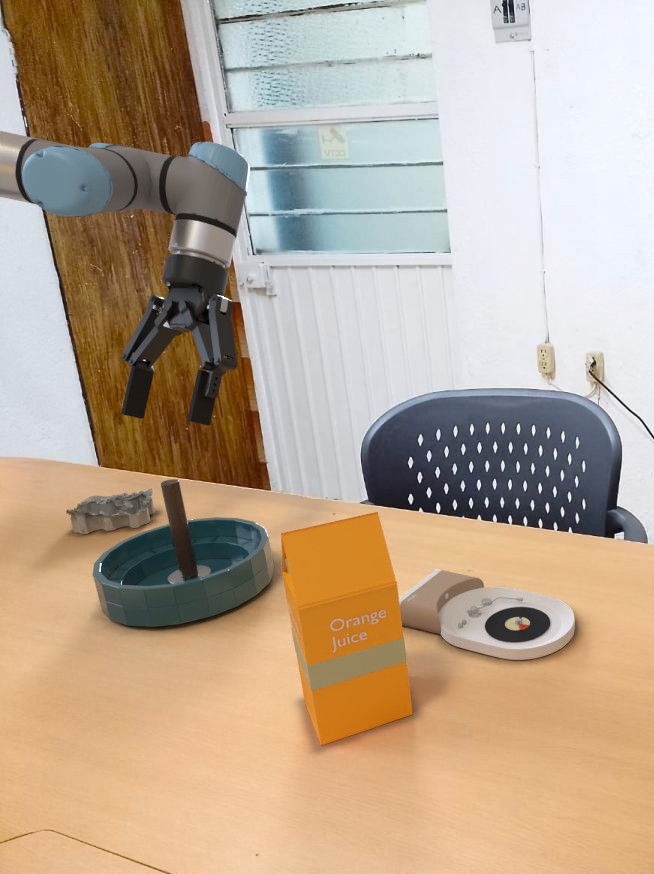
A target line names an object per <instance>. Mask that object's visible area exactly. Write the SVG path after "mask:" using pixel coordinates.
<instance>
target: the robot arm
mask: <svg viewBox="0 0 654 874" xmlns="http://www.w3.org/2000/svg"><path fill="white" fill-rule="evenodd" d="M250 171H251V168H250V164H249V162H248V160H247V159H246V157H244V155H242V154H241V153H239V152H238V151H236V150H235V149H233V148H231V147H229V146H226V145H223V144H221V143H218V142H214V141H213V142H212V141H204V142H203V141H198V142H194V144H192V145H191V148H190V150H189V152H188V154H187V156H180V155H170V154H164V153H159V152H154V151H150V150H145V149H140V148H135V147H130V146H127V145H124V144H118V143H117V144H115V143H106V142H105V143H104V142H95V143H92V144H89V147H82V146H76V145H70V144H65V143H61V142H57V141H56V142H55V141H52V140H47V139H41V138H36V137H31V136H27V135H22V134H17V133H12V132H7V131H3V130H0V198H4V199H9V200H14V201H19V202H22V203H23V202H24V203H29V204H33V205H36V206H38V207H39V208H40V209H42V210H44V211H45V212H47V213H49V214H51V215H55V216H59V217H71V218H72V217H73V218H86V217H90V216H93V215H101V214H106V213H114V212H116V213H117V212H124V211H132V210H145V211H151V212H158V213H165V214H170V215H174V216H175V219H174V222H173V226H172V230H171V236H170V239H169V243H168V247H167V251H169V253H170V254H169V255H168V256H166V258H165V263H164V268H163V272H162V275H161V276H162V277H161V282H162V283H163V284H164V285H165V286H166V287H167V289H168V292H167V295H166V297H165V298H164V297H161V296H158V295H156V294H152V295H150V297H149V299H148V303H147V306H146V310H145V312H144V313H143V315H142V317H141V319H140V321H139V323H138V325H137V326H136V328H135V330H134V331H133V333H132V335H131V336H130V338H129V341H128V343H127V345H126V346H125V348H124V351H123V352H122V353H121V357H120V358H121V359H120V360H121V361H122V362H126V363H127V364H128V366H129V367H130V369H129V374H128V378H127V383H126V390H125V394H124V399H123V403H122V406H121V411H120V415H123V416H127V417H131V418H135V419H141V420H142V419H143V420H144V418H145V414H146V410H147V405H148V400H149V397H150V393H151V388H152V383H153V378H154V373H155V371H156V370H155V368H154V366H153V365H155V363H156V362H157V360H158V359H159V358H160V357H161V356H162V354H163V353H164V352H165V350H166V349H167V348H168V347H169V345H171V343H172V341H173V340H174V339H175V338H176V337H178V336H181V335H182V334H183V333H190V332H191V335H192V337H193V340H194V343H195V346H196V349H197V352H198V355H199V358H200V361H201V363H200V365H198V368H199V369H197V373H196V377H195V382H194V386H193V391H192V395H191V399H190V400H191V401H190V405H189V409H188V414H187V419H186V422H190V423H194V424H198V425H202V426H203V425H204V426H211V422H212V418H213V413H214V408H215V404H216V399H217V398H218V396H219V391H220V387H221V382H222V379H223V376H224V375H225V374H226V373H227V372H228V371H230V370H231V371H236V370H237V368H238V358H237V351H236V342H235V335H234V327H233V319H232V318H233V317H232V313H233V307H234V302H233V300H232V299H229V298H227V297H224V296H225V294H226V289H227V284H228V279H229V275H230V273H229V272H228V270H227V269H228V268H230V267H231V263H232V258H233V254H234V249H235V244H236V240H237V237H238V231H239V227H240V223H241V218H242V214H243V211H244V205H245V201H246V198H247V196H248V184H249V178H250Z"/></svg>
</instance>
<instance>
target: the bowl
mask: <svg viewBox="0 0 654 874" xmlns="http://www.w3.org/2000/svg"><path fill="white" fill-rule="evenodd" d="M187 521H188V526H189V531H190V536H191V541H192V545H193V550H194V555H195V560H196V564H197V565H204V566H208V567H209V568H210V569H211V571H212V574H209V575H206V576H204V577H201V578H196V579H192V580H187V581H183V582H178V583H174V584H168V577H169V575H170V574H172V573H173V572H175V571H177V570H179V566H178V562H177V557H176V552H175V548H174V543H173V539H172V534H171V529H170V525H169V523H168V524H164V525H161V526H158V527H154V528H151V529H148V530H144V531H141V532H139V533H137V534H135V535H132V536H130V537H127V538H126V539H123V540H121V541H119V542H118V543H116V544H115V545H112V546H110V548H108V549H107V550H105V551H104V552H103V553H102V554H101V555H100V556H99V557H98V558H97V559H96V561H94V563H93V570H92V577H93V581H94V585H95V588H96V589H95V590H96V593H97V596H98V601H99V604H100V608H101V611H102V612H103V614H104V615H105V616H107V618H108V619H109V620H110V621H113V622H116V623H119V624H123V625H125V626H130V627H131V626H133V627H147V628H150V627H151V628H155V627H165V626H175V625H182V624H185V623H190V622H194V621H198V620H202V619H207V618H210V617H213V616H217V615H219V614H221V613H224V612H226V611H229V610H231V609H233V608H237V607H239V606H240V605H242V604H244V603H246V602H247V601H249V600H251V599H252V598H254V597H256V596H257V595H258V594H259V593H260V592H262V591H263V590H264V589H265V588H266V587H267V586H268V585H269V584H270V582H271V580H272V578H273V576H274V573H275V565H274V561H273V555H272V548H271V543H270V537H269V534H268V531H267V528H265V527H264V526H262V525H261V524H259V523H258V522H256V521H253V520H248V519H244V518H239V517H222V516H221V517H219V516H217V517H204V518H193V519H189V520H188V519H187Z"/></svg>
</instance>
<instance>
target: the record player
mask: <svg viewBox="0 0 654 874" xmlns="http://www.w3.org/2000/svg"><path fill="white" fill-rule="evenodd" d="M399 605H400V613H401V621H402V626H405V627H409V628H413V629H416V630H421V631H425V632H428V633H432V634H436V635H440V637H442V638H443V640H444V641H446V642H447V643H448V644H450V645H452V646H455V647H458V648H460V649H464V650H467V651H471V652H474V653H479V654H483V655H486V656H489V657H490V656H491V657H494V658H500V659H505V660H510V661H511V660H512V661H516V660H517V661H523V660H524V661H525V660H532V659H539V658H542V657H545V656H548V655H550V654H553V653H555V652H558V651H559V650H561V649H562V648H564V647H565V646H566V645H567V644H568V643H570V641H571V640H572V638H573V637H574V634H575V631H576V621H575V613H574V611H573V609H572V608H571V607H570V605H569V604H567V603H566V602H564V601H563V600H561V599H559V598H556V597H554V596H550V595H545V594H541V593H537V592H534V591H533V592H532V591H529V590H524V589H518V588H513V587H508V586H487V587H485V584H484V581H483V580H482V579H481V578H479V577H476V576H471V575H466V574H462V573H457V572H453V571H449V570H444V569H439V568H436V569H434V570H433V571H432V572H431V573H429V574H428V575H426V576H425V577H424V578H422V579H421V580H420V581H419V582H418V583H416V584H415V585H414V586H412V587H411V588H410V589H408V590H407V591H406V592H405V593H404V594H402V595H401V596H399Z"/></svg>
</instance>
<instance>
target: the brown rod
mask: <svg viewBox="0 0 654 874" xmlns="http://www.w3.org/2000/svg"><path fill="white" fill-rule="evenodd" d="M160 488H161V493H162V497H163V502H164V506H165V511H166V515H167V519H168V520H167V521H168V524H169V525H170V529H171V534H172V539H173V543H174V548H175V552H176V557H177V562H178V566H179V570H177V571H175V572H173V573H172V574H170V575H169V577H168V584H174V583H178V582H183V581H187V580H192V579H196V578H201V577H204V576H206V575H209V574H212V571H211V569H210V568H209V567H208V566H204V565H197V564H196V560H195V555H194V550H193V545H192V541H191V536H190V531H189V526H188V521H187V520H188V517H187V513H186V508H185V503H184V498H183V493H182V489H181V484H180V480H179V479H176V478H171V479H170V478H169V479H166V480H163V481H161V482H160Z"/></svg>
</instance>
